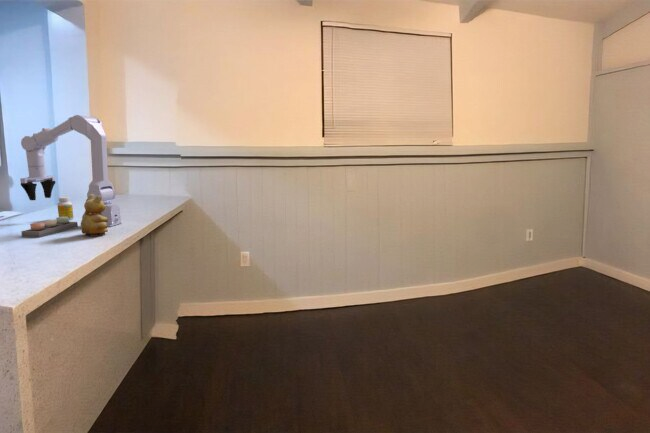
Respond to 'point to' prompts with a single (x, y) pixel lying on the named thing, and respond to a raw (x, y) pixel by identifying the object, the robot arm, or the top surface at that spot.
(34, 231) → the panel
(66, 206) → the supplement bottle
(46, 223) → the ivory button
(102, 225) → the decorative figurine
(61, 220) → the sage button
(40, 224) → the terracotta button
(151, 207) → the top surface
